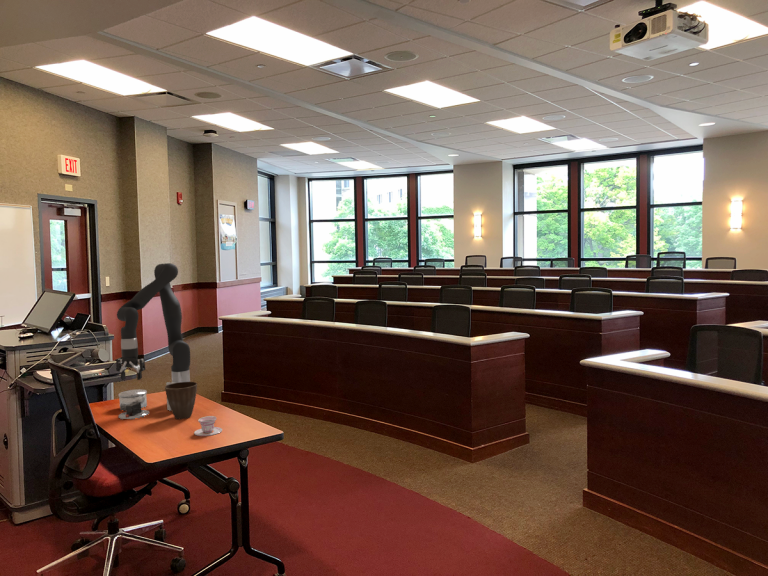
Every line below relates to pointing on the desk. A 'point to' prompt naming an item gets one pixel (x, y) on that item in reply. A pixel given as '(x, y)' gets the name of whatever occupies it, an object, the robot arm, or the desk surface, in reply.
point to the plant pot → (181, 398)
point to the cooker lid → (133, 411)
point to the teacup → (207, 426)
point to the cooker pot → (132, 398)
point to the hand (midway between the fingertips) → (131, 379)
